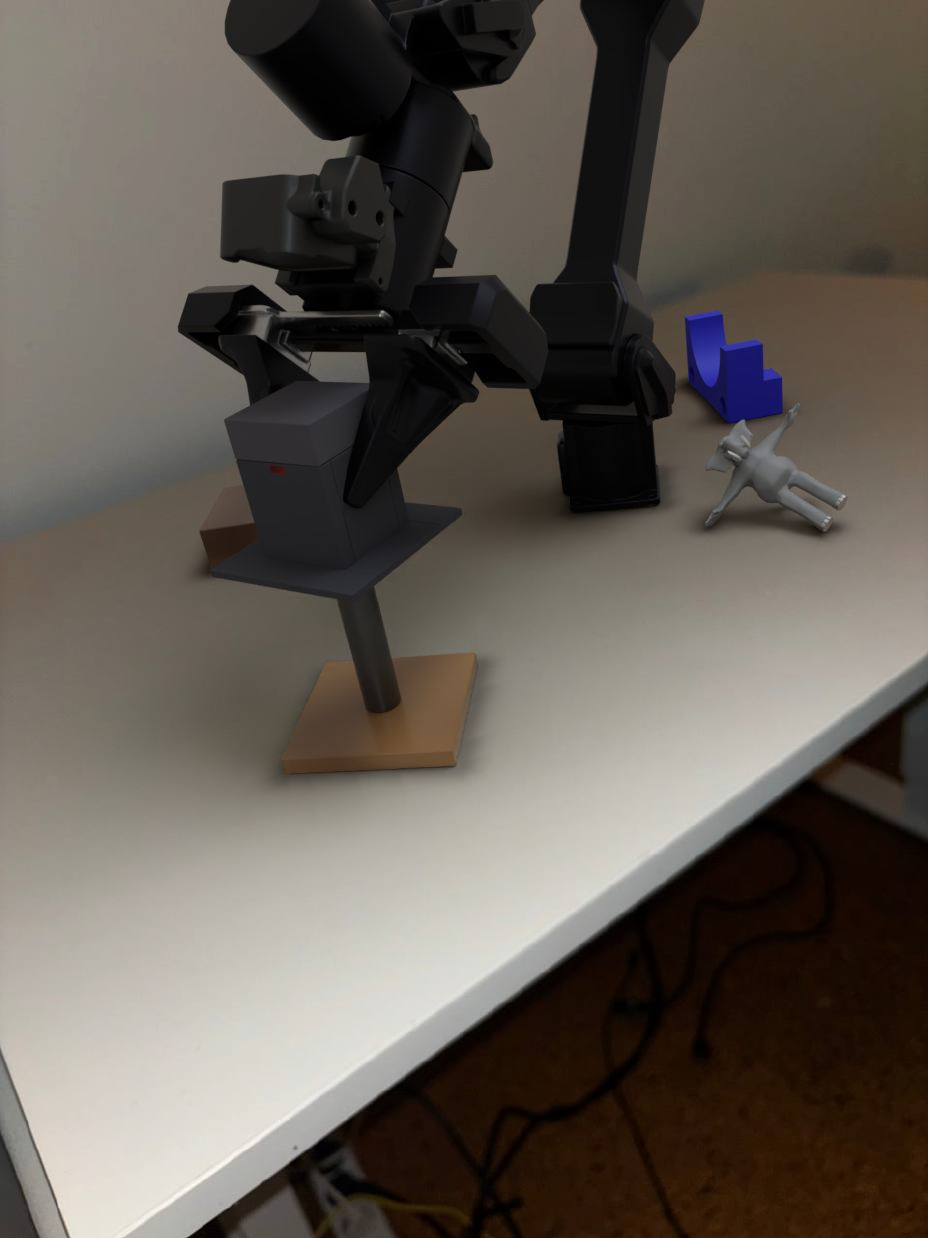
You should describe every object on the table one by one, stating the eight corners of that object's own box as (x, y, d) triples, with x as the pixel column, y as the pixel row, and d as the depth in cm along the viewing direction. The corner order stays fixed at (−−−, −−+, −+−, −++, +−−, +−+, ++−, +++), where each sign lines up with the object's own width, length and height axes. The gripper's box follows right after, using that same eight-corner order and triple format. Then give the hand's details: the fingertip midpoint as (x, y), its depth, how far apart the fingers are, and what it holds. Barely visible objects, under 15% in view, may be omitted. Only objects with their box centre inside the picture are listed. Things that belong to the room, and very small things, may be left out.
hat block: (331, 512, 82) (321, 472, 80) (317, 557, 75) (306, 514, 73) (235, 527, 83) (222, 487, 81) (212, 573, 76) (198, 530, 74)
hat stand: (478, 666, 59) (451, 524, 54) (455, 766, 51) (422, 610, 47) (328, 676, 60) (290, 539, 56) (285, 774, 53) (237, 625, 48)
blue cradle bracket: (782, 412, 84) (781, 340, 81) (728, 422, 84) (725, 351, 81) (736, 372, 95) (734, 306, 92) (688, 381, 95) (684, 316, 92)
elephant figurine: (779, 567, 63) (666, 493, 67) (795, 591, 68) (688, 521, 72) (883, 434, 62) (761, 368, 66) (890, 469, 67) (777, 405, 72)
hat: (326, 499, 56) (292, 366, 53) (462, 515, 52) (435, 369, 48) (212, 577, 50) (164, 432, 46) (354, 602, 45) (313, 443, 42)
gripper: (144, 116, 49) (42, 422, 47) (472, 58, 39) (360, 444, 37) (292, 245, 58) (213, 505, 56) (588, 225, 48) (504, 541, 46)
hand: (305, 500), depth 48 cm, fingers closed on hat, 5 cm apart
